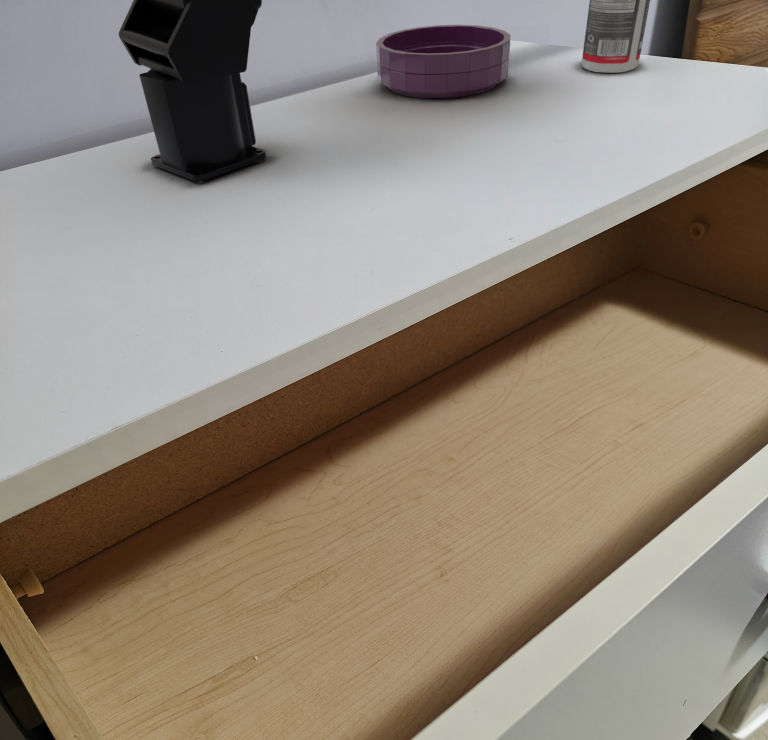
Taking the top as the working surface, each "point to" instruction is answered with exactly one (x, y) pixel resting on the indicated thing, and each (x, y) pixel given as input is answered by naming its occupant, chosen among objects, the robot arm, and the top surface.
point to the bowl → (443, 60)
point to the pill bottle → (614, 35)
